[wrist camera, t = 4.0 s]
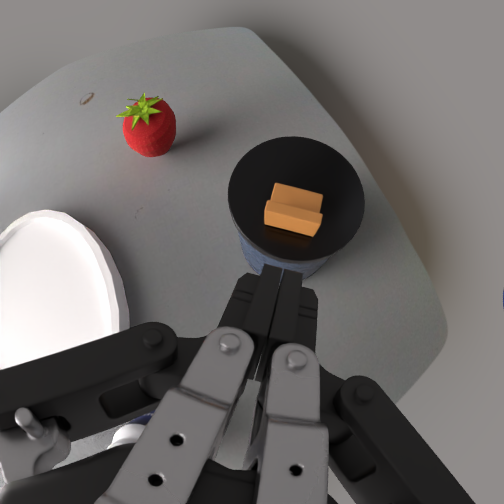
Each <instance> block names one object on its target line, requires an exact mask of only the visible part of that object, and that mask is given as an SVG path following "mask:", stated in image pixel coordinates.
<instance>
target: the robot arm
mask: <svg viewBox="0 0 504 504" xmlns="http://www.w3.org/2000/svg"><path fill="white" fill-rule="evenodd" d="M282 270H283V268H280V267H276V266H272V265H269V264H265V263H264V266H263V269H262V272H261V275H260V276H258V275H254V274H251V273H246V274H245V275H243V276H242V277H241V278H239V279H238V281H237V284H236V286H235V288H234V290H233V293H232V295H231V298H230V300H229V302H228V304H227V307H226V309H225V311H224V313H223V316H222V318H221V320H220V323H219V325H218V327H217V328H216V329H214V330H212V331H211V332H210V333H209V334H208V335H207V336H204V337H200V338H181V337H177V336H176V334H175V332H174V331H173V329H171V328H170V327H169V326H167V325H165V324H163V323H159V322H147V323H144V324H141V325H138V326H135V327H132V328H129V329H126V330H123V331H120V332H118V333H115V334H112V335H109V336H106V337H103V338H100V339H97V340H94V341H91V342H88V343H85V344H82V345H79V346H76V347H73V348H70V349H66V350H63V351H60V352H57V353H54V354H51V355H48V356H44V357H41V358H38V359H35V360H32V361H28V362H25V363H22V364H18V365H15V366H12V367H8V368H5V369H2V370H0V469H1V472H2V476H3V478H4V481H5V485H4V486H3V487H2V488H1V489H0V504H338V503H337V502H336V501H335V500H334V499H333V498H332V497H331V496H330V495H329V494H328V493H327V491H328V466H329V467H330V468H331V470H332V471H333V472H334V474H335V475H336V477H337V478H338V480H339V481H340V482H341V484H342V485H343V487H344V488H345V489H346V491H347V492H348V493H349V495H350V496H351V498H352V499H353V500H354V502H355V503H356V504H475V503H474V501H473V500H472V499H471V498H470V496H469V495H468V494H467V493H466V491H465V490H464V489H463V488H462V486H461V485H460V484H459V483H458V481H457V480H456V479H455V478H454V476H453V475H452V474H451V473H450V471H449V470H448V469H447V468H446V467H445V465H444V464H443V463H442V462H441V460H440V459H439V458H438V457H437V455H436V454H435V453H434V452H433V450H432V449H431V448H430V447H429V446H428V444H427V443H426V442H425V441H424V439H423V438H422V437H421V436H420V434H419V433H418V432H417V431H416V430H415V428H414V427H413V426H412V425H411V424H410V422H409V421H408V420H407V419H406V417H405V416H404V415H403V414H402V413H401V411H400V410H399V409H398V408H397V407H396V405H395V404H394V403H393V402H392V401H391V399H390V398H389V397H388V396H387V395H386V393H385V392H384V391H383V390H382V389H381V387H380V386H379V385H378V384H377V383H376V382H375V381H374V380H372V379H370V378H368V377H365V376H352V377H350V378H348V379H347V380H346V381H345V380H343V379H341V378H339V377H337V376H335V375H333V374H331V373H329V372H328V371H326V370H325V369H324V368H323V367H322V366H321V365H320V364H319V360H318V358H317V356H316V354H315V346H316V331H317V310H318V298H317V296H316V294H315V292H314V290H313V289H309V288H305V287H302V279H303V273H300V272H296V271H292V270H288V269H284V271H283V275H282V278H281V274H282ZM280 279H281V282H280ZM279 283H280V285H279ZM278 288H279V289H278ZM261 354H262V355H261ZM260 357H261V359H260ZM259 360H260V362H259ZM258 363H259V366H258ZM257 366H258V370H257V374H256V378H255V381H259V382H261V385H260V389H259V393H258V395H257V398H256V401H255V406H254V412H253V418H252V424H251V430H250V436H249V442H248V448H247V452H246V455H245V458H244V462H243V467H242V470H232V469H229V468H226V467H224V466H223V465H221V464H219V463H217V462H215V461H214V460H215V458H216V456H217V453H218V450H219V448H220V445H221V442H222V440H223V437H224V435H225V433H226V430H227V428H228V425H229V423H230V421H231V418H232V416H233V413H234V411H235V408H236V406H237V403H238V401H239V398H240V396H241V395H242V393H243V392H244V389H245V386H246V383H247V379H251V380H253V378H254V375H255V372H256V369H257ZM154 410H155V412H154V414H153V415H152V417H151V419H150V420H149V422H148V424H147V425H146V427H145V429H144V430H143V432H142V434H141V435H140V437H139V439H138V440H137V442H135V443H127V444H122V445H118V446H115V447H112V448H109V449H107V450H105V451H102V452H100V453H97V454H95V455H92V456H90V457H87V458H84V459H82V460H79V461H76V462H74V463H71V464H68V465H65V466H62V467H59V468H56V469H53V470H52V468H53V467H54V466H55V465H56V464H58V463H60V462H62V461H64V460H65V459H66V458H67V457H68V455H69V453H70V450H71V442H73V441H76V440H79V439H82V438H85V437H88V436H91V435H94V434H96V433H99V432H102V431H105V430H107V429H110V428H113V427H115V426H118V425H120V424H123V423H125V422H128V421H130V420H133V419H135V418H138V417H140V416H142V415H145V414H147V413H149V412H152V411H154Z"/></svg>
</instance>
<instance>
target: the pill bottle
mask: <svg viewBox="0 0 504 504" xmlns="http://www.w3.org/2000/svg"><path fill="white" fill-rule="evenodd" d="M154 412H155V410H154V411H152V412H149V413H147V414H145V415H142V416H140V417H138V418H135V419H134V420H132V421H131V422H129V423H127V424H126V425H124V426H123V427H121V428H120V429H119V430H118V431H117V432H116V433H115V435H114V437H113V441H112V444H111V445H110V446H109V447H108V448H107V449H109V448H112V447H115V446H118V445H122V444H127V443H135V442H137V440H138V439H139V437H140V435H141V434H142V432H143V430H144V429H145V427H146V425H147V424H148V422H149V420H150V419H151V417H152V415H153V414H154ZM107 449H106V450H107Z"/></svg>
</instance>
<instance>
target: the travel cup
mask: <svg viewBox="0 0 504 504" xmlns="http://www.w3.org/2000/svg"><path fill="white" fill-rule="evenodd" d="M275 183H280V184H284V185H288V186H292V187H296V188H300V189H303V190H307V191H311V192H315V193H319V194H322V195H323V199H322V204H321V209H320V213H321V214H323V216H322V221H321V225H320V227H319V228H318V230H317V232H316V234H315V235H314V236H313V237H312V236H309V235H305V234H301V233H297V232H293V231H290V230H286V229H282V228H278V227H274V226H270V225H266V224H265V221H264V217H265V207H266V204H267V201H268V200H270V199H271V196H272V192H273V189H274V185H275ZM228 203H229V208H230V212H231V216H232V219H233V222H234V224H235V226H236V228H237V230H238V233H239V237H240V242H241V246H242V250H243V253H244V256H245V258H246V260H247V262H248V263H249V265H250V266H251V267H252V268H253V270H254V271H256V272H257V273H258V274H259V275H261V272H262V269H263V266H264V263H265V264H269V265H272V266H276V267H280V268H283V270H282V274H281V278H282V275H283V271H284V269H288V270H292V271H296V272H300V273H303V279H302V280H304V279H306V278H308V277H309V276H311V275H312V274H314V273H315V272H316V271H317V270H318V269H319V268H320V267H321V266H322V265H323V264H324V263H325V262H326V261H327V260H328V259H329V258H330V257H331V256H332V255H334V254H336V253H337V252H338V251H340V250H341V249H342V248H343V247H344V246H345V245H346V244H347V243H348V242H349V241H350V240H351V239H352V238H353V237H354V235H355V234H356V232H357V230H358V229H359V227H360V224H361V222H362V219H363V214H364V206H365V200H364V192H363V187H362V184H361V182H360V179H359V177H358V175H357V173H356V171H355V170H354V168H353V167H352V165H351V164H350V163H349V162H348V161H347V160H346V159H345V158H344V157H343V156H342V155H341V154H340V153H339V152H337V151H336V150H334V149H333V148H331V147H330V146H328V145H326V144H324V143H321V142H319V141H316V140H313V139H309V138H304V137H295V136H293V137H280V138H275V139H271V140H268V141H266V142H263V143H261V144H259V145H257V146H256V147H254V148H253V149H251V150H250V151H249V152H248V153H246V154H245V155H244V156H243V157H242V159H241V160H240V161H239V162H238V164H237V165H236V167H235V169H234V171H233V173H232V175H231V178H230V182H229V187H228ZM280 282H281V279H280Z"/></svg>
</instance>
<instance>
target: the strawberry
mask: <svg viewBox="0 0 504 504" xmlns="http://www.w3.org/2000/svg"><path fill="white" fill-rule="evenodd" d="M158 97H159V96H157V97H155V98H145V93H144V94H143V95H142V97H141V98H140V100H137V101H138V102H136V103H135V104H134V105H133V106H126V107H127V108H128V109H129V110H127V111H125V112H123V113H121V114H119V115H117V116H116V117H125V119H124V122H123V133H124V136H125V139H126V141H127V143H128V145H129V146H130V147H131V148H132V149H133V150H135V151H136V152H138V153H140V154H141V155H143V156H146V157H156V156H161V155H163V154H165V153H166V152H167V151H168V150H169V149H170V148H171V146H172V144H173V141H174V139H175V135H176V119H175V115H174V112H173V111H172V109H171V108H170V107H169V105H168V104H167V103H166V102H165V101H164V100H162V99H163V98H162V99H159V98H158ZM127 100H135V99H127Z"/></svg>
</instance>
